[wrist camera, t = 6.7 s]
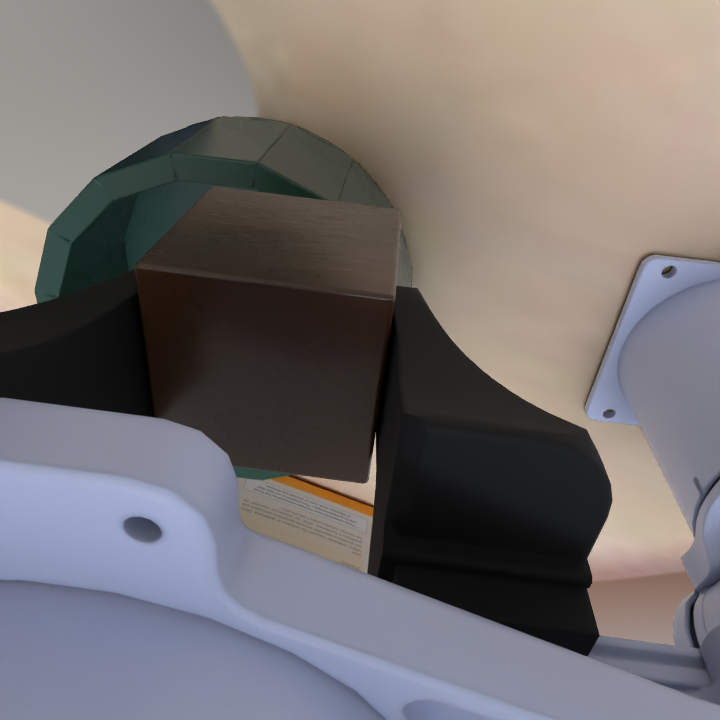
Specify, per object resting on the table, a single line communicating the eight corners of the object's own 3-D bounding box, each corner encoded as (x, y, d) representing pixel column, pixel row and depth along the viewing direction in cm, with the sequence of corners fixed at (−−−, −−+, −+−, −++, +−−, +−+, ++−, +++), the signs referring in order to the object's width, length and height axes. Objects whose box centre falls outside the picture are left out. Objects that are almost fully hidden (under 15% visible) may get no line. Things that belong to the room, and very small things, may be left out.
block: (402, 208, 13) (396, 297, 10) (379, 366, 16) (367, 486, 12) (211, 184, 13) (132, 263, 10) (218, 345, 16) (157, 458, 12)
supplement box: (215, 509, 33) (113, 773, 22) (240, 453, 30) (139, 722, 19) (347, 557, 34) (313, 830, 23) (383, 508, 32) (364, 788, 21)
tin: (432, 137, 21) (436, 182, 16) (391, 410, 28) (385, 497, 23) (87, 98, 21) (-7, 132, 16) (132, 378, 28) (75, 457, 23)
